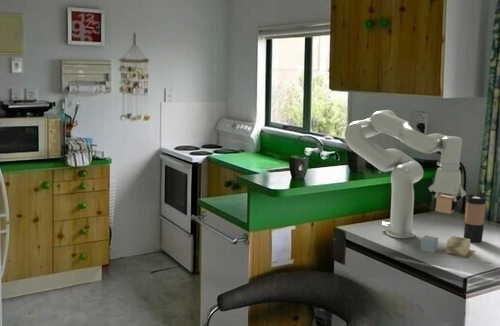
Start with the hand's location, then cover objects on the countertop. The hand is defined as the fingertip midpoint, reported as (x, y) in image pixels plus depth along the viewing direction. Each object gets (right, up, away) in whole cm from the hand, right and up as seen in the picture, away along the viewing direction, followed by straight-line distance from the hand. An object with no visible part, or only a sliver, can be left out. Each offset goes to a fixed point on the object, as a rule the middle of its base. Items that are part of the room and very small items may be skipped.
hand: (445, 208), depth 240 cm
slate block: (-9, -17, -8) cm, 21 cm away
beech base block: (+2, -17, -10) cm, 19 cm away
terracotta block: (0, -1, 0) cm, 1 cm away
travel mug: (+13, -15, +5) cm, 21 cm away
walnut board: (+2, -18, -9) cm, 20 cm away
